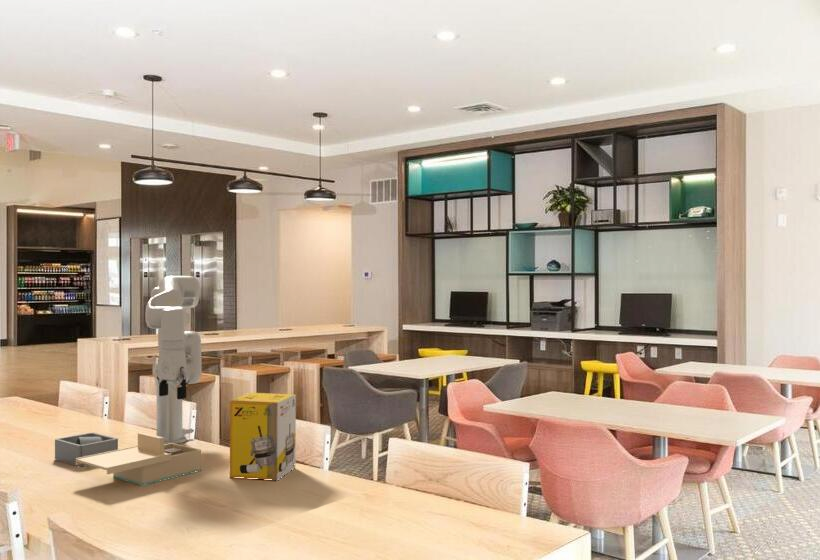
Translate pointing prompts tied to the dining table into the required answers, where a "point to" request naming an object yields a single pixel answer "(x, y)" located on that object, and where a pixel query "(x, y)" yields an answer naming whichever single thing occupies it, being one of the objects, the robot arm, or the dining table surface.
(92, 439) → the ceramic mug
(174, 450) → the walnut block
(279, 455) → the packaging box
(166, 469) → the base
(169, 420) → the robot arm
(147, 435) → the lid
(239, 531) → the dining table surface
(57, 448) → the coaster tray
